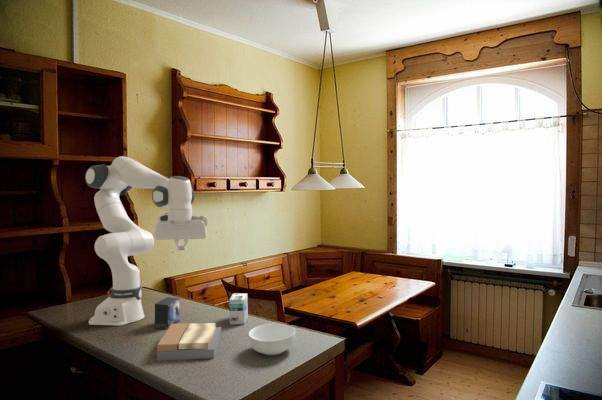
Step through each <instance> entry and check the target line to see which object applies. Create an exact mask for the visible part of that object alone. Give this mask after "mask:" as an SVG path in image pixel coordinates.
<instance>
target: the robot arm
mask: <svg viewBox="0 0 602 400" xmlns="http://www.w3.org/2000/svg"><path fill="white" fill-rule="evenodd" d="M84 179H85V182H86V185H87V186H88V187H90V188H92V189H97V190H98V189H99V190H98V191H97V192H96V193H95V194H94V197H93V199H94V200H93V201H94V206H95V209H96V213H97V214H98V217H99V220H100V222H101V224H102V226H103V227H102V228H104V229H105V230H106V231H108V232H109V233H107V234H104V235H100V236H98V238H97V239H96V240H95V243H94V251H95V253H96V255H97V256H98V257H99V259H100V258H101V259H102V260H104V261H105V262H106V263H107V264H108V266H109V268H110V271H111V275H112V286H111V288H110V289H109V290H108V291H107V295H108V297H107V298H106V299H104V300H103V301H102V302H101V303H100V304H99V305H97V307H96V308H95V311H94V315H93V316H92V317H90V318H89V320H88V325H91V326H119V327H121V326H124V325H127V324H130V323H134V322H138V321H140V320H142V319H144V318H145V317H146V316H145V312H144V309H143V305H142V293H143V292H142V286H141V277H140V276H141V274H140V273H141V271H140V269H139V267H138V266H136V265H135V264H133V263H130V262H129V260H128V257H131V256H139V255H143V254H146V253H148V252H150V251H152V249H153V248H154V244H155V239H156V240H159V241H161V240H164V241H165V240H166V241H167V240H174V243H175V245H176V247H177V251H186V250H187V249H186V248H187V247H186V246H187V244H188V243H189V240H198V239H199V240H201V239H202V240H203V239H206V237H208V231H207V230H208V229H207V225H208V219H207V217H205V216H204V215H193V205H192V204H193V202H194V201H195V197H196V194H195V191H194V189H193V187H192V184H191V180H190V179H189V178H188V177H186V176H182V175H181V176H180V175H173V176H170V177H167V176H165V175H163V174H161V173H159V172H156V171H155V170H153V169H151V168H149V167H147V166H145V165H144V164H142V163H141V162H139V161H137V160H136V159H133V158H132V157H128V156H123V155H121V156H118V157H116V158H114V159H113V160H112V162H111V164H110V165H106V164H98V165H96V164H95V165H92V166H90V167H89V168H87V170H86V172H85V175H84ZM132 188H135V189H150V190H151V189H153V190H152V194H151V198H152V202H153V204H154V205H155V206H156V207H158V208H160V209H162V208H163V209H164V208H169V212H166V213H164V214H159V215H158V216H157V223H156V224H155V229H154V230H155V231H154V236H153V234H152V233H151V232H150V231H148V230H146V229H143V228H141V227H140V226H138V225H137V224H135V222H134V221H132V219H130V217H129V216H128V214H127V211H126V209H125V207H124V205H123V203H122V201H121V199H120V196H123V195H126V194H127V192H129V191H130V190H131V189H132ZM154 238H155V239H154ZM180 240H183V242H184V244H183V245H182V244H180V243H179V242H180Z"/></svg>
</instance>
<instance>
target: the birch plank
mask: <svg viewBox="0 0 602 400" xmlns="http://www.w3.org/2000/svg"><path fill="white" fill-rule="evenodd" d="M216 327H217V325H216V322H204V323H203V322H202V323H201V322H200V323H199V322H198V323H197V322H196V323H189V326H188V327H187V329H186V331H185V333H184V335H183V337H182V338H181V340H180V342H179V349H208V348H209V345H210V342H211V339H212V337H213V334H214V331H215V328H216Z"/></svg>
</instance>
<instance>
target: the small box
mask: <svg viewBox="0 0 602 400" xmlns="http://www.w3.org/2000/svg"><path fill="white" fill-rule="evenodd" d="M180 307H181V299H180V297H171V296H167V297H165V298H163V299H161V300H159V301H157V302H155V303H154V329H160V330H161V329H162V330H168V328H169V327H170V325H171V324H178V323H179V322H180V321H181V308H180Z"/></svg>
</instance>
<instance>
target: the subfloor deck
mask: <svg viewBox="0 0 602 400" xmlns="http://www.w3.org/2000/svg"><path fill="white" fill-rule="evenodd" d="M189 324H190V323H189V322H187V323H186V322H182V323H179V322H178V323H176V324H171V325H170V327H169V328H168V329H166V332H165V333H164V334H163V336H162V337H161V339H160V340H159V341H158V344H157V345H156V347H157V350H156V357H157V358H156V361H157V362H158V361H159V362H160V361H177V360H178V361H180V360H199V359H201V360H203V359H215V356H216V353H217V349H218V347H219V343H220V339H221V337H222V326H216V328H215V331H214V334H213V337H212V339H211V342H210V345H209V348H208V349H179V342H180V340H181V338H182V337H183V335H184V333H185V331H186V329H187V327H188V326H189Z"/></svg>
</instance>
